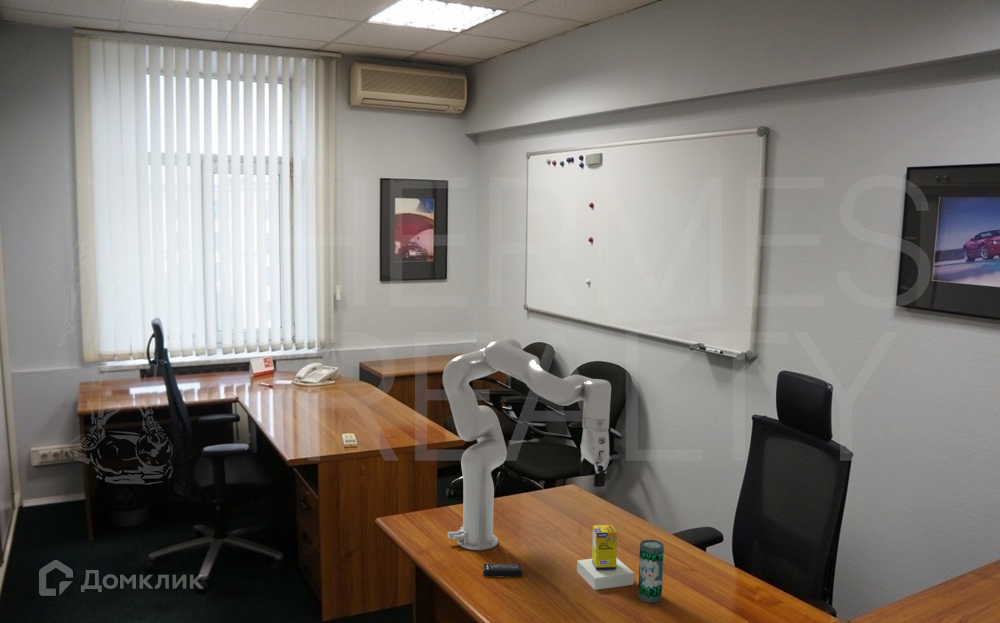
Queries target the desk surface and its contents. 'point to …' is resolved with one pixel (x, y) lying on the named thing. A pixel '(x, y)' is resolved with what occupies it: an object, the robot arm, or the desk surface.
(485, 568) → the multiport hub
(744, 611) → the desk surface
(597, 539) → the supplement box
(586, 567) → the white block
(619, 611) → the desk surface
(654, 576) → the can
